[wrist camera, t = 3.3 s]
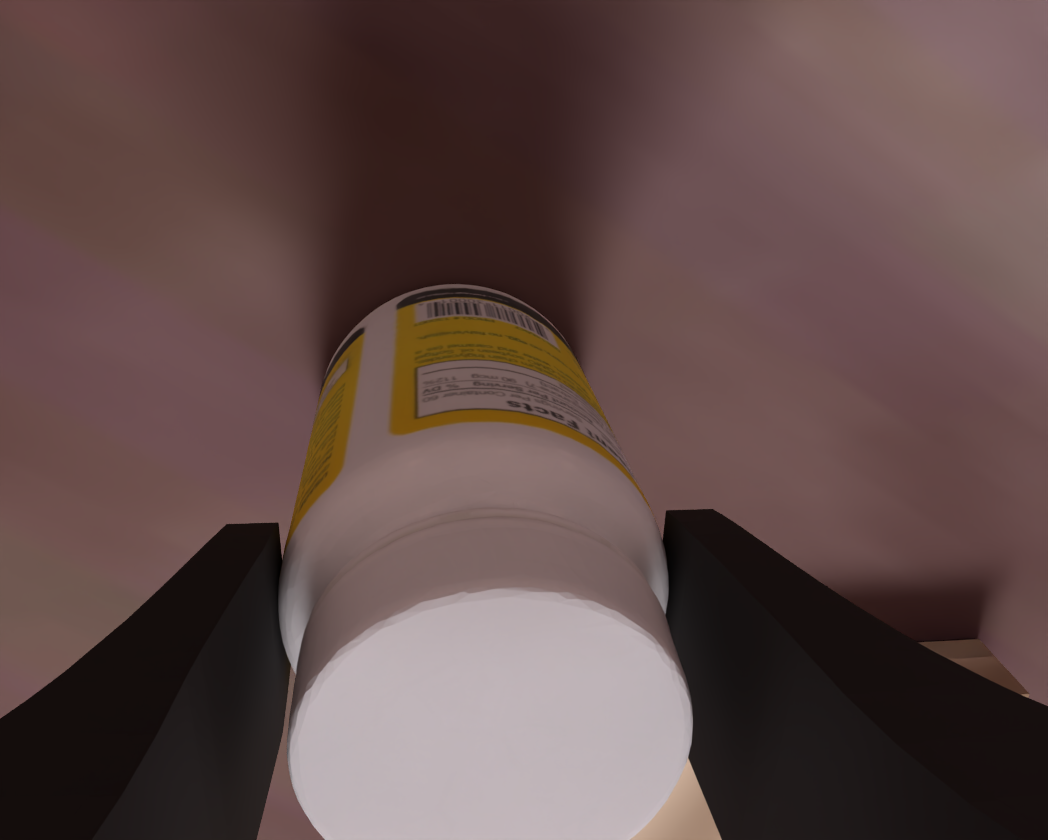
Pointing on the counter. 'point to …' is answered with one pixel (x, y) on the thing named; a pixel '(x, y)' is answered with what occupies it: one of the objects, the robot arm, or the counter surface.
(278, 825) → the counter surface
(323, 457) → the supplement bottle
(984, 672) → the tray
